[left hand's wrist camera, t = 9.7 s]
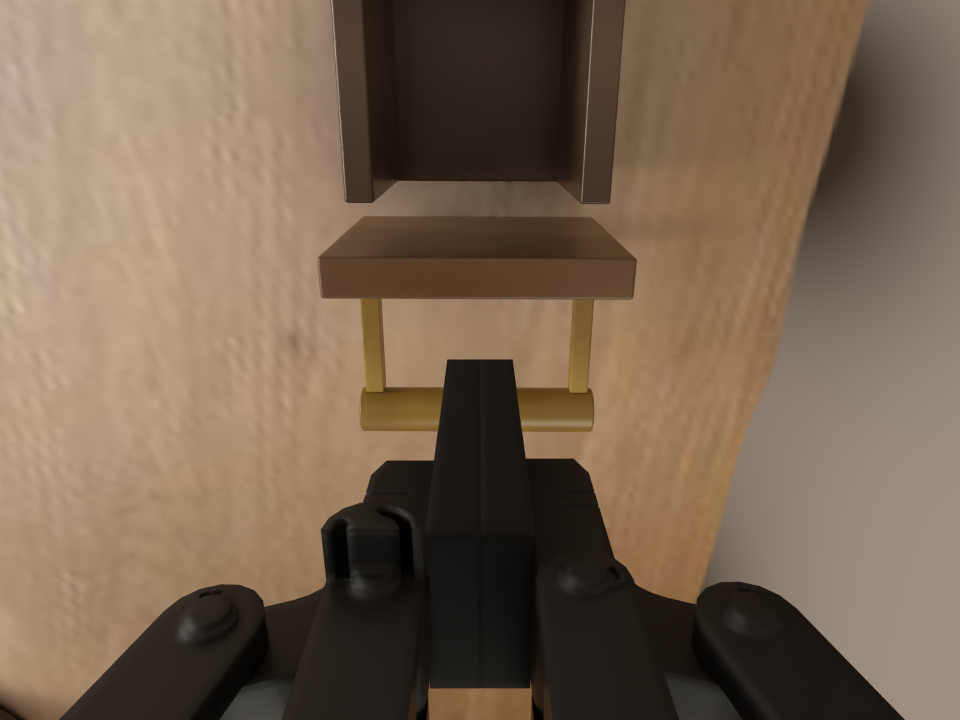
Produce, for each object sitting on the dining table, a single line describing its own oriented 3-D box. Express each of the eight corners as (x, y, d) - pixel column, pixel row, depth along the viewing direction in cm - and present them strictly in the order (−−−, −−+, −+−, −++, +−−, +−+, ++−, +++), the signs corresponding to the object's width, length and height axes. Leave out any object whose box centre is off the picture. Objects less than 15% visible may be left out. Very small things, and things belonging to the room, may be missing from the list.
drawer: (582, 377, 27) (617, 469, 20) (372, 376, 27) (335, 468, 20) (629, -315, 19) (715, -563, 12) (329, -317, 19) (243, -566, 12)
